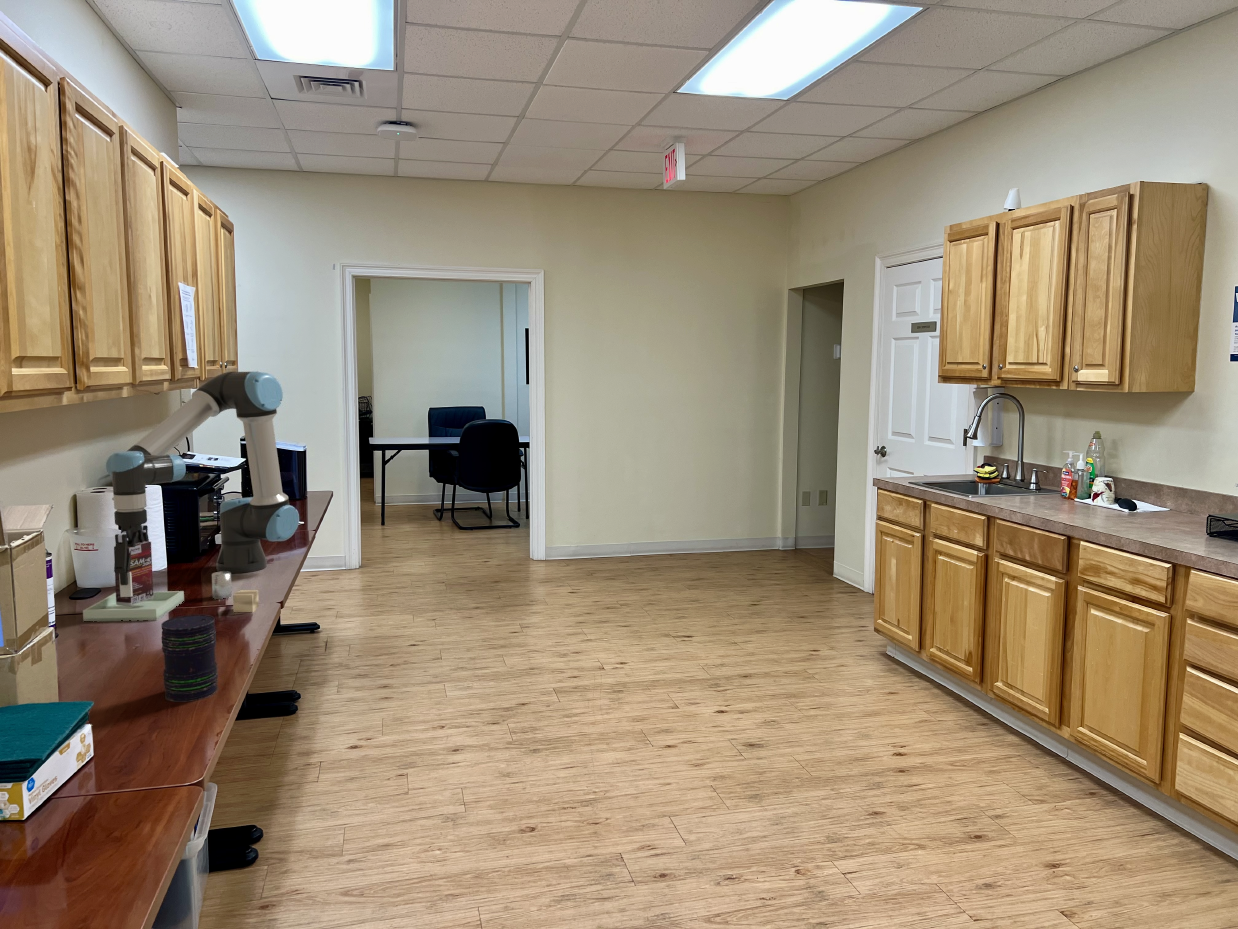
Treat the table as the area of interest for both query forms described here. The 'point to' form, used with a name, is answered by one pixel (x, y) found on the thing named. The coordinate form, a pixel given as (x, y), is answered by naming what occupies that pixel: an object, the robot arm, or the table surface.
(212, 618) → the storage jar
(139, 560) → the supplement box
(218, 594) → the metal cylinder
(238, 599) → the maple block
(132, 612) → the sage tray
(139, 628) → the table surface
